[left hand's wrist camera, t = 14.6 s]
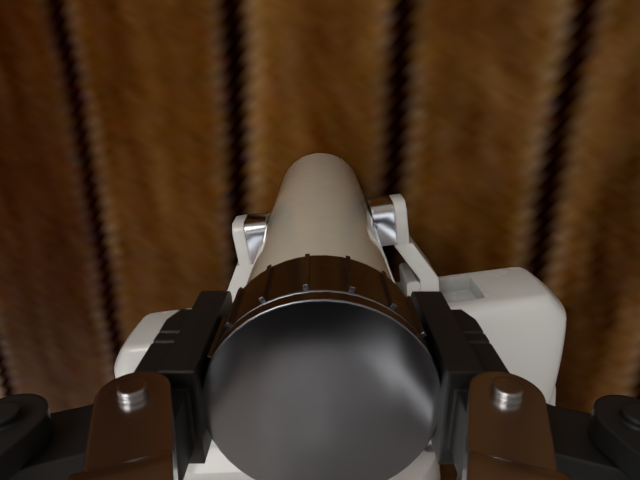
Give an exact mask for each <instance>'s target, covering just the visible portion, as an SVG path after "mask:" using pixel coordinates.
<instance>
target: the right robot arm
mask: <svg viewBox="0 0 640 480" xmlns="http://www.w3.org/2000/svg"><path fill="white" fill-rule="evenodd" d="M367 203H368V208H369V211H370V214H371V217H372V219H373V222H374V225H375V228H376V230H377V233H378V236H379V239H380V241H381V244H382V246H390V245H394V246H395V248H396V249H397V250H398V251H399V253H400V254H401V255H402V257H403V258H404V259H405V261H406V263H401V264H400V265H399V274H400V282H395V283H396V285H397V286H398V287H399V288H400V289H401V291H402V292H403V293H404V294H405V295H406V297H407V296H411V293H412V291H440V292H441V293H442V294H443V296H444V298H445V300H446V301H447V303H448V305H449V307H450V309H451V310H463V311H464V312H466V313H467V314H469V315H470V316H471V317H473V318H474V319H476V321H477V322H478V324H479V325H480V327H481V328H482V330H483V334H485V335H486V336H487V338H488V340H489V341H490V344H492V346H493V347H494V349H495V351H496V352H497V354H498V355H499V357H500V358H501V360H502V362H503V363H504V365H505V366H506V368H507V370H508V371H509V373H511V374H514V375H517V376H520V377H522V378H524V379H526V380H528V381H530V382H531V383H533V384H534V385H535V386H536V387H537V388H539V390H540V391H541V392H542V393H543V395H544V397H545V400H546V403H547V404H550V405H553V406H555V400H556V387H555V384H556V380H557V376H558V372H559V367H560V362H561V357H562V352H563V346H564V339H565V332H566V320H567V319H566V312H565V309H564V307H563V305H562V303H561V302H560V300H559V299H558V298H557V297H556V296H555V294H554V293H553V292H552V291H551V290H550V289H549V288H548V287H547V286H546V285H545V284H544V283H542V282H541V281H540V280H539V279H537V278H536V277H535V276H534V275H532V274H531V273H530V272H528V271H527V270H525V269H524V268H521V267H510V268H502V269H494V270H486V271H479V272H471V273H463V274H455V275H447V276H439V277H438V276H437V274H436V273H435V271H434V269H433V268H432V266H431V264H430V262H429V261H428V259H427V258H426V256H425V255H424V254H423V252H422V251H421V250H420V248H419V247H418V246H417V244H416V243H415V242H414V240H413V239H412V238H411V236H410V235H409V230H408V217H407V208H406V204H405V200H404V198H403V197H402V195H401V194H395V195H387V196H381V197H374V198H368V199H367ZM269 218H270V213H269V212H266V213H258V214H250V215H241V216H236V218H235V220H234V222H233V223H232V232H233V239H234V243H235V248H236V253H237V257H238V264H237V266H236V269H235V271H234V274H233V277H232V280H231V282H230V285H229V288H228V291H230V292H231V295H232V302H233V301H234V299H235V296H236V294H237V291H238V289H239V288H240V287H242V288H244V287H245V286H246V284H247V281H248V278H249V275H250V272H251V270H252V267H253V264H254V261H255V258H256V255H257V252H258V250H259V247H260V244H261V241H262V238H263V235H264V232H265V229H266V227H267V224H268V221H269ZM188 309H192V308H188ZM178 311H179V310H172V311H164V312H156V313H151V314H148V315H147V316H145V317H144V318H143V319H142V320H141V321H140V323H139V324H138V325H137V326H136V328H135V329H134V330H133V331H132V333H131V334H130V335H129V337H128V338H127V340H126V342H125V343H124V345H123V346H122V348H121V350H120V352H119V354H118V356H117V359H116V362H115V368H114V371H115V377H116V378H118V377H120V376H123V375H126V374H129V373H133V372H134V371H135V369H136V368H137V366H138V364H139V363H140V361H141V360H142V358H143V356H144V355H145V353H146V352H147V350H148V348H149V347H150V345H151V344H152V343H153V340H154V339H155V337H156V336H157V334H158V333H159V331H160V329H161V328H162V326H163V324H164V323H165V321H166V320H167V319H168V318H169V317H171V316H172V315H173V314H175V313H176V312H178ZM183 480H255V479H253V478H251V477H249V476H248V475H246V474H245V473H243V472H242V471H240V470H239V469H238V468H237V467H235V466H234V465H233V464H232V463H231V462H230V461H229V460H228V459H227V458H226V457H225V456H224V455H223V454H222V452H221V451H220V450H219V449H218V447H217V446H216V444H215V443H214V441H213V440H212V441H211V444H210V448H209V451H208V455H207V458H206V461H205V464H188V467H187V470H186V473H185V476H184V479H183ZM389 480H441V479H440V464H438V462H437V459H436V455H435V452H434V449H433V446H432V442H431V440H430V441H429V443H428V445H427V446H426V448H425V449H424V450H423V451H422V453H421V454H420V455H419V456H418V457H417V458H416V459H415V460H414V461H413V462H412V463H411V464H410V465H409V466H408V467H407V468H405V469H404V470H403V471H401V472H400V473H399V474H397V475H395V476H394V477H392V478H390V479H389Z"/></svg>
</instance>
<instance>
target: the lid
mask: <svg viewBox="0 0 640 480" xmlns="http://www.w3.org/2000/svg"><path fill="white" fill-rule="evenodd" d="M425 336H427V335H426V333H425V330H424V328H423V325H422V323H421V321H420V318H419V316H418V313H417V311H416V308H415V306H414V303H413V301H412V299H411V297H410V296H407V297H406V295H405V294H404V293H403V292H402V291H401V289H400V288H399V287H398V286H397V285H396V284H395V283H394V282H393V281H392V280H391V279H389V278H388V277H387V274H386V272H385V271H383V270H382V271H381V272H380V271H378V270H376V269H374V268H372V267H371V266H369V265H367V264H364V263H361V262H359V261H356V260H353V259H351V258H350V256H347V255H346V256H345V258H344V257H339V256H329V255H312V256H310V253H309V254H305V257H298V258H294V259H291V260H287V261H284V262H282V263H279V264H277V265H274V266H272V265H271V264H270V265H268V266H267V269H266V270H265V271H263V272H262V273H260V274H259V275H258V276H256V277H255V278H254V279H252V280H251V281H250V282H249V283H248V284H247V285H246V286H245V287H244V288H242V287H240V288H239V289H238V291H237V294H236V296H235V299H234V301H233V303H232V305H231V307H230V309H229V311H228V314H227V316H226V317H222V319H221V322H220V324H219V327H218V329H217V332H216V335H215V337H214V340H213V342H212V345H211V347H210V350H209V352H208V355H207V357H206V359H207V361H209V363H208V366H207V369H206V371H205V374H204V378H203V384H202V391H203V401H204V410H205V419H206V426H207V429H208V431H209V433H210V435H211V437H212V440H213V441H214V443H215V444H216V446H217V447H218V449H219V450H220V451H221V452H222V454H223V455H224V456H225V457H226V458H227V459H228V460H229V461H230V462H231V463H232V464H233V465H234V466H235V467H237V468H238V469H239V470H240V471H242V472H243V473H245V474H246V475H248V476H249V477H251V478H253V479H255V480H389V479H390V478H392V477H394V476H395V475H397V474H399V473H400V472H401V471H403V470H404V469H405V468H407V467H408V466H409V465H410V464H411V463H412V462H413V461H414V460H415V459H416V458H417V457H418V456H419V455H420V454H421V453H422V451H423V450H424V449H425V448H426V446H427V445H428V443H429V441H430V440H431V438H432V436H433V434H434V432H435V429H436V425H437V417H438V408H439V399H440V389H441V380H440V376H439V372H438V369H437V367H436V364H435V362H434V359H433V357H432V354H431V352H430V349H429V347H428V344H427V342H426V339H425Z"/></svg>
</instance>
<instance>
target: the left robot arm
mask: <svg viewBox="0 0 640 480" xmlns="http://www.w3.org/2000/svg"><path fill="white" fill-rule="evenodd" d="M410 297H411V299H412V301H413V303H414V306H415V308H416V311H417V313H418V316H419V318H420V321H421V323H422V325H423V328H424V330H425V333H426V335H427V336H425V339H426V342H427V344H428V347H429V349H430V352H431V354H432V357H433V359H434V362H435V364H436V367H437V369H438V372H439V376H440V380H441V389H440V399H439V408H438V417H437V425H436V429H435V432H434V434H433V436H432V438H431V442H432V446H433V449H434V452H435V455H436V459H437V462H438V464H455V467H456V470H457V473H458V474H457V480H640V399H637V398H633V397H628V396H622V395H607V396H603V397H601V398H599V399H597V401H596V402H595V404H594V406H593V410H592V414H589V413H584V412H579V411H575V410H570V409H565V408H561V407H557V406H553V405H550V404H547V403H546V400H545V397H544V395H543V393H542V392H541V391H540V390H539V388H537V387H536V386H535V385H534V384H533V383H531V382H530V381H528V380H526V379H524V378H522V377H520V376H517V375H514V374H511V373H509V371H508V370H507V368H506V366H505V365H504V363H503V362H502V360H501V358H500V357H499V355H498V354H497V352H496V351H495V349H494V347H493V346H492V344H490V341H489V340H488V338H487V336H486V335H485V334H483V330H482V328H481V327H480V325H479V324H478V322H477V321H476V319H474V318H473V317H471V316H470V315H469V314H467V313H466V312H464V311H463V310H451V309H450V307H449V305H448V303H447V301H446V300H445V298H444V296H443V294H442V293H441V292H440V291H412V293H411V296H410ZM232 303H233V302H232V295H231V292H230V291H202V292H201V293H200V295H199V296H198V298H197V300H196V302H195V304H194V306H193V307H192V309H180V310H179V311H178V312H176V313H175V314H173V315H172V316H171V317H169V318H168V319H167V320H166V321H165V323H164V324H163V326H162V328H161V329H160V331H159V333H158V334H157V336H156V337H155V339H154V340H153V343H152V344H151V345H150V347H149V348H148V350H147V352H146V353H145V355H144V356H143V358H142V360H141V361H140V363H139V364H138V366H137V368H136V369H135V371H134V372H133V373H129V374H126V375H123V376H120V377H118V378H116V379H114V380H112V381H110V382H109V383H107V384H106V385H105V386H104V387H103V388H101V390H100V391H99V392H98V393H97V395H96V397H95V400H94V404H91V405H88V406H84V407H80V408H75V409H70V410H66V411H61V412H56V413H52V414H50V410H49V407H48V403H47V401H46V400H45V399H44V398H43V397H41V396H39V395H36V394H17V395H12V396H8V397H4V398H1V399H0V480H183V479H184V476H185V473H186V470H187V467H188V464H205V461H206V458H207V455H208V451H209V448H210V444H211V441H212V437H211V435H210V433H209V431H208V429H207V426H206V419H205V410H204V401H203V391H202V384H203V378H204V374H205V371H206V369H207V366H208V363H209V361H207V359H206V357H207V355H208V352H209V350H210V347H211V345H212V342H213V340H214V337H215V335H216V332H217V329H218V327H219V324H220V322H221V319H222V317H226V316H227V314H228V311H229V309H230V307H231V305H232Z"/></svg>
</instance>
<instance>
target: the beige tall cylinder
mask: <svg viewBox="0 0 640 480" xmlns="http://www.w3.org/2000/svg"><path fill="white" fill-rule="evenodd" d="M309 253H310V256H312V255H329V256H339V257H344V258H345V256H346V255H347V256H350V258H351V259H353V260H356V261H359V262H361V263H364V264H367V265H369V266H371V267H372V268H374V269H376V270H378V271H380V272H381V271H382V270H383V271H385V272H386V274H387V277H388V278H389V279H391V280H392V281H393V282H394V283H395V280H394V277H393V274H392V272H391V269H390V266H389V263H388V261H387V258H386V255H385V252H384V250H383V247H382V244H381V241H380V239H379V236H378V233H377V230H376V228H375V225H374V222H373V219H372V217H371V214H370V211H369V208H368V206H367V203H366V200H365V197H364V195H363V192H362V189H361V186H360V184H359V181H358V178H357V176H356V174H355V172H354V171H353V169H352V168H351V167H350V166H349V165H348V164H347V163H346V162H345V161H344V160H342V159H340V158H339V157H336V156H334V155H331V154H325V153H315V154H310V155H307V156H304V157H302V158H300V159H299V160H297V161H296V162H295V163H294V164H292V166H291V167H290V168H289V169H288V170H287V172H286V174H285V176H284V178H283V181H282V184H281V187H280V189H279V192H278V195H277V198H276V201H275V204H274V207H273V209H272V212H271V215H270V218H269V221H268V224H267V227H266V229H265V232H264V235H263V238H262V241H261V244H260V247H259V250H258V252H257V255H256V258H255V261H254V264H253V267H252V270H251V272H250V275H249V278H248V281H247V284H248V283H249V282H250V281H251V280H252V279H254V278H255V277H256V276H258V275H259V274H260V273H262V272H263V271H265V270H266V269H267V266H268V265H270V264H271V265H272V266H274V265H277V264H279V263H282V262H284V261H287V260H291V259H294V258H298V257H305V254H309ZM247 284H246V285H247ZM395 284H396V283H395Z"/></svg>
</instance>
